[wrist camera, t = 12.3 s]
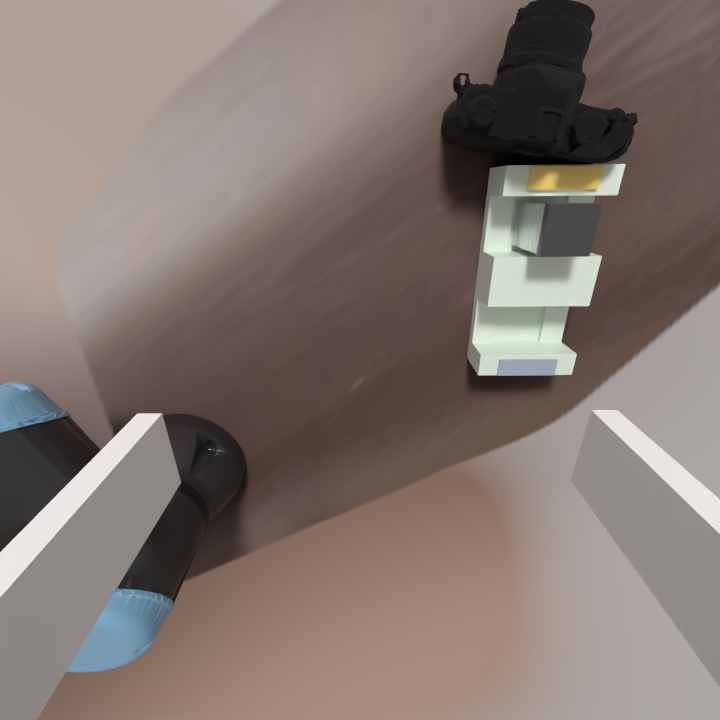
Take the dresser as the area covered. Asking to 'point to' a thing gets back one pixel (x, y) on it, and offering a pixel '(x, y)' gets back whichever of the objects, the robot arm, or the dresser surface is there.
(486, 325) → the socket block
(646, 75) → the dresser surface
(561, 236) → the plug
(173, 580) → the robot arm
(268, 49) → the dresser surface
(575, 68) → the film camera
